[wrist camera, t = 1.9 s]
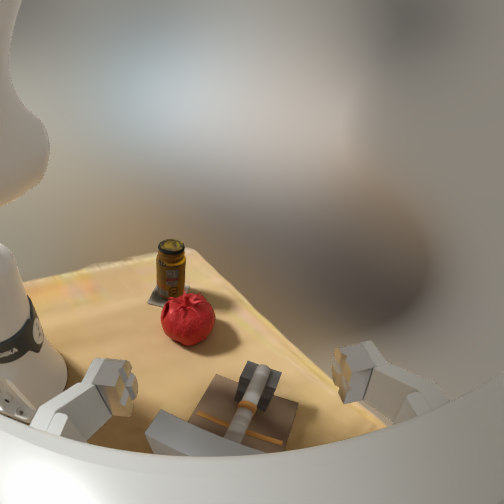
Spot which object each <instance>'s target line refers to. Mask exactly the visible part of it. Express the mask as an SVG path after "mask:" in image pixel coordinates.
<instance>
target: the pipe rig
mask: <svg viewBox="0 0 504 504" xmlns="http://www.w3.org/2000/svg"><path fill="white" fill-rule="evenodd" d="M281 373H282V372H279V371H276V370H273V369H270V368H269V367H268V366H266V365H262V364H261V365H258V364H256V363H253V362H250V361H247V364H246V366H245V368H244V370H243V372H242V374H241V376H240V379H239V383H238V382H235V381H233V380H230V379H228V378H225V377H223V376H220V375H218V374H216V375H215V377H214V378H213V380H212V382H211V383H210V385H209V387H208V389H207V390H206V392H205V394H204V395H203V397H202V399H201V400H200V402H199V404H198V406H197V407H196V409H195V411H194V412H193V414H192V416H191V417H190V419H189V421H188V423H190V424H192V425H195V426H197V427H199V428H201V429H204V430H206V431H208V432H211V433H213V434H215V435H218V436H220V437H223V438H225V439H228V440H231V441H233V442H236V443H239V444H241V445H244V446H247V447H250V448H253V449H256V450H259V451H262V452H265V453H276V452H283V451H284V448H285V445H286V442H287V439H288V436H289V433H290V429H291V426H292V423H293V420H294V416H295V413H296V410H297V406H298V403H297V402H294V401H290V400H287V399H284V398H281V397H278V396H275V395H273V394H274V392H275V390H276V387H277V384H278V382H279V379H280V376H281Z"/></svg>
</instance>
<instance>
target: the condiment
mask: <svg viewBox="0 0 504 504" xmlns="http://www.w3.org/2000/svg"><path fill="white" fill-rule="evenodd" d="M158 249H159V250H158V255H157V258H156V265H157V285H156V287H155V289H154V291H153V292H152V295H151V296H150V298H149V300H148V302H147V303H150V304H153V305H157V306H161V307H164V305H165V303H166V302H167V301H168V300H170V299H168V298H170V297H174V298H178V297H180V296H182V295H183V292H184V291H183V289H184V290H185V292H186V294H187V292H188V289H189V286H188V285H185V264H186V257H185V255H184V254H185V252H184V249H185V247H184V244H183V243H182V242H181V241H178V240H175V239H167V240H164V241H162V242H160V244H159V246H158Z"/></svg>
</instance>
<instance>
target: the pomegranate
mask: <svg viewBox="0 0 504 504" xmlns="http://www.w3.org/2000/svg"><path fill="white" fill-rule="evenodd" d="M183 291H184V292H183V295H182V296H180V297H178V298H174V297H170V298H168V299H170V300H168V301H167V302H166V303H165V305H164V307H163V310H162V313H161V323H162V327H163V330H164V332H165V334H166V335H167V336H169V337H170V338H171V339H172V340H174V341H179V342H181V343H182V344H183V345H187V346H191V345H194V344H196V343H198V342H200V341H202V340H204V339H206V337H207V336H208V335H209V333H210V332H211V331H212V329H213V326H214V323H215V317H216V316H215V313H214V311H213V308H212V306H211V305H210V304H209V302H208V301H207V300H206V299H205V297H203V296H202V295H198V294H201V293H198V294H194V293H188V294H186V292H185V290H184V289H183Z"/></svg>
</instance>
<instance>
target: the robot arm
mask: <svg viewBox="0 0 504 504" xmlns="http://www.w3.org/2000/svg"><path fill="white" fill-rule="evenodd" d="M21 1H22V0H0V207H2V206H4V205H7V204H9V203H11V202H13V201H14V200H16V199H17V198H19V197H20V196H22V195H23V194H25V193H26V192H28V191H29V190H30V189H32V188H33V187H35V186H36V185H38V184H39V183H40V182H41V180H42V178H43V176H44V174H45V171H46V169H47V165H48V161H49V151H50V146H49V139H48V134H47V131H46V129H45V126H44V125H43V123H42V122H41V120H40V119H39V118H38V117H37V116H36V115H35V114H33V113H32V112H31V111H29V110H28V109H27V108H26V107H25V106H24V104H23V103H22V102H21V101H20V99H19V97H18V96H17V94H16V92H15V90H14V87H13V84H12V81H11V77H10V72H9V51H10V44H11V38H12V32H13V28H14V24H15V20H16V16H17V13H18V10H19V7H20V4H21ZM334 357H335V359H336V360H335V361H334V362H333V364H332V378H333V381H334V384H335V385H336V386H338V387H339V392H338V393H339V395H340V397H341V400H342V402H343V404H347V403H352V402H356V401H360V400H363V401H364V402H365V403H367V404H368V405H369V406H371V407H372V408H374V409H375V410H377V411H378V412H380V413H381V414H383V415H384V416H385V417H387V418H388V419H390V420H391V421H393V422H394V423H393V425H392V426H389V427H386V428H383V429H380V430H377V431H374V432H370V433H367V434H364V435H360V436H357V437H353V438H349V439H345V440H341V441H337V442H333V443H328V444H324V445H319V446H314V447H309V448H303V449H297V450H291V451H284V452H276V453H268V454H257V455H245V456H224V457H191V456H170V455H158V454H148V453H139V452H132V451H125V450H119V449H113V448H107V447H102V446H97V445H93V444H88V443H87V440H88V439H89V438H90V437H91V436H92V435H93V434H94V433H95V432H96V431H97V430H98V429H100V428H101V427H102V426H103V425H104V424H105V423H106V422H107V421H108V420H109V419H110V418H111V417H112V415H115V416H125V417H131V413H132V410H133V407H134V404H133V402H132V400H133V399H135V398H136V396H137V393H138V383H137V379H136V376H135V375H134V374H133V373H131V369H132V366H131V364H130V362H129V361H127V360H117V359H104V358H95V359H94V360H93V361H92V363H91V365H90V367H89V369H88V371H87V372H86V374H85V376H84V378H83V380H82V382H81V383H76V384H75V385H73V386H72V387H70V388H69V389H67V390H65V391H64V392H63V390H64V388H65V385H66V381H67V367H66V363H65V361H64V359H63V357H62V356H61V354H60V353H59V352H58V351H57V350H56V349H55V348H54V347H53V346H52V345H51V343H50V342H49V341H48V339H47V338H46V336H45V335H44V333H43V330H42V327H41V324H40V321H39V318H38V316H37V313H36V311H35V308H34V306H33V304H32V301H31V299H30V298H29V296H28V295H27V294H26V292H25V289H24V286H23V283H22V280H21V277H20V273H19V270H18V267H17V264H16V260H15V258H14V256H13V254H12V253H11V251H10V250H9V249H8V248H6V247H5V246H4V245H2V244H0V413H2V414H5V415H7V416H10V417H12V418H15V419H17V420H20V421H23V422H26V423H31V424H30V426H28V425H26V424H23V423H21V422H18V421H16V420H13V419H11V418H9V417H6V416H4V415H2V414H0V504H504V371H502V372H500V373H499V374H497V375H496V376H494V377H492V378H491V379H489V380H488V381H486V382H484V383H483V384H481V385H480V386H478V387H476V388H474V389H473V390H470V391H469V392H467V393H465V394H463V395H461V396H459V397H457V398H455V399H453V400H451V401H450V400H449V399H448V398H447V396H446V395H445V393H444V392H443V391H442V390H441V388H440V387H439V386H438V385H437V383H435V382H433V381H430V380H428V379H426V378H423V377H421V376H418V375H416V374H414V373H412V372H410V371H407V370H405V369H403V368H400V367H398V366H396V365H394V364H392V363H391V364H388V363H387V362H386V360H385V359H384V358H383V356H382V355H381V353H380V352H379V350H378V349H377V348H376V346H375V345H374V344H373V342H372V341H366V342H361V343H358V344H352V345H348V346H342V347H336V349H335V351H334ZM22 412H23V414H22V415H21V413H22Z"/></svg>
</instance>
